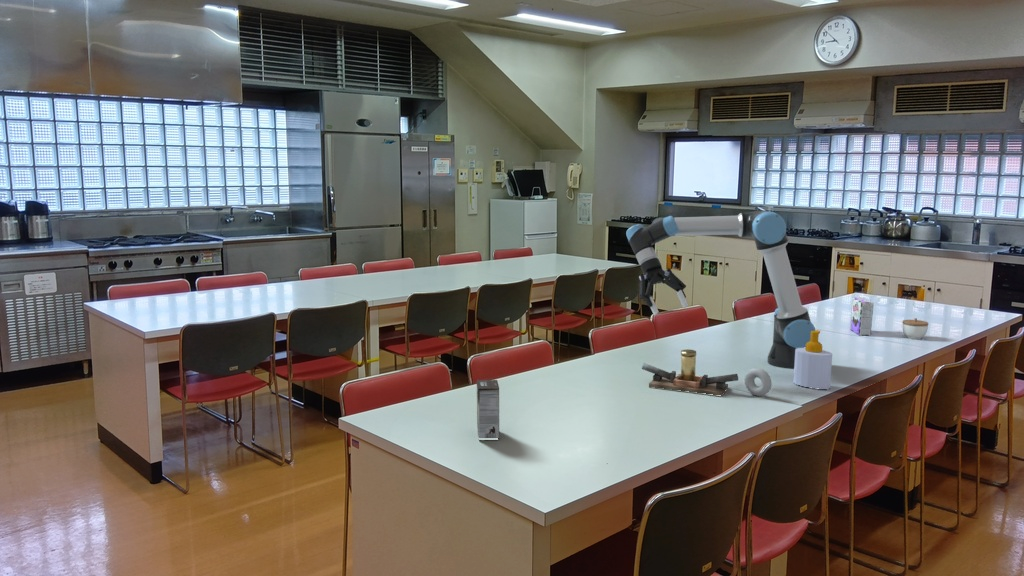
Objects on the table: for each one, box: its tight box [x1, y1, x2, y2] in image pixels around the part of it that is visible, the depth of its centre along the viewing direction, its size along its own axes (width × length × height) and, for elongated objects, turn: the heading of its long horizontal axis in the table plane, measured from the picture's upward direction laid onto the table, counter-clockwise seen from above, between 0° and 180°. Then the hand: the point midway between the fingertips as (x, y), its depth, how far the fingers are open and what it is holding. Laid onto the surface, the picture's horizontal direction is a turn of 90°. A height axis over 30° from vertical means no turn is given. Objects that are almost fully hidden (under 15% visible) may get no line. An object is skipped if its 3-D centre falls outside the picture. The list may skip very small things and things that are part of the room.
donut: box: [744, 367, 773, 397], centre depth 262 cm, size 10×4×10 cm, turn 41°
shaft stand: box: [641, 362, 739, 397], centre depth 272 cm, size 35×12×7 cm, turn 63°
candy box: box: [849, 297, 875, 337], centre depth 362 cm, size 14×6×16 cm, turn 172°
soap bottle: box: [793, 329, 833, 390], centre depth 273 cm, size 13×8×20 cm, turn 47°
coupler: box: [680, 348, 697, 382], centre depth 271 cm, size 5×5×12 cm
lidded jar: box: [901, 317, 929, 340], centre depth 351 cm, size 11×11×9 cm
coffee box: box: [476, 379, 500, 439], centre depth 223 cm, size 9×6×16 cm
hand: (671, 310), depth 283 cm, fingers open, 13 cm apart
